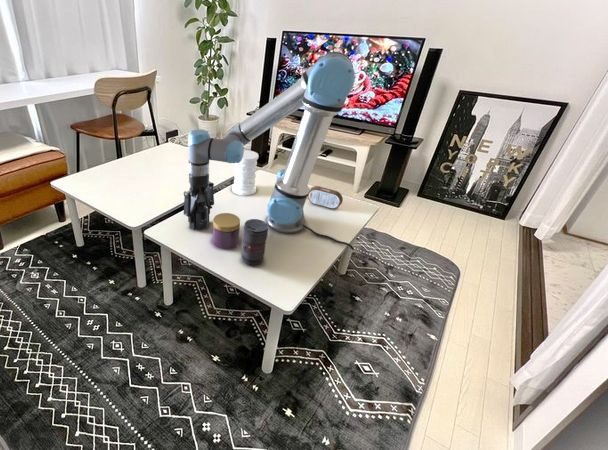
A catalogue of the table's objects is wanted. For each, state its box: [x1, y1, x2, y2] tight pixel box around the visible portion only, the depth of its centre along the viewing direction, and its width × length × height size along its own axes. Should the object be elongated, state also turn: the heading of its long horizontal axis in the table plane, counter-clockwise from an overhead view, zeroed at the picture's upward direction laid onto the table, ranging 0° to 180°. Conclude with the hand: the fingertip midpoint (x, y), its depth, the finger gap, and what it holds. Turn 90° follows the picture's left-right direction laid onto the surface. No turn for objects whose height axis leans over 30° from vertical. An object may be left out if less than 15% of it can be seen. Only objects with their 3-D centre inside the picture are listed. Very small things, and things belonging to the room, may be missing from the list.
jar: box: [212, 225, 241, 250], centre depth 127 cm, size 10×10×9 cm
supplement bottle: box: [194, 196, 209, 231], centre depth 135 cm, size 7×7×12 cm
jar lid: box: [212, 212, 241, 232], centre depth 125 cm, size 10×10×2 cm
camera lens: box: [241, 218, 269, 267], centre depth 116 cm, size 8×8×15 cm
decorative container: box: [231, 149, 260, 196], centre depth 160 cm, size 12×12×18 cm
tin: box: [307, 185, 344, 210], centre depth 150 cm, size 15×3×8 cm, turn 58°
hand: (199, 224), depth 138 cm, fingers closed on supplement bottle, 7 cm apart
